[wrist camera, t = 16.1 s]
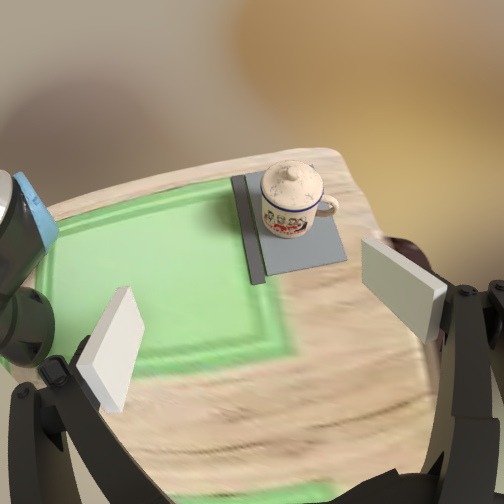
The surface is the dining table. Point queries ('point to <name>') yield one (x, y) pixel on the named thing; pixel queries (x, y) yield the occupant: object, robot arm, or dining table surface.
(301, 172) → the teacup with lid
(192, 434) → the dining table surface
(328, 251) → the slate mat
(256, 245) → the black line strip
